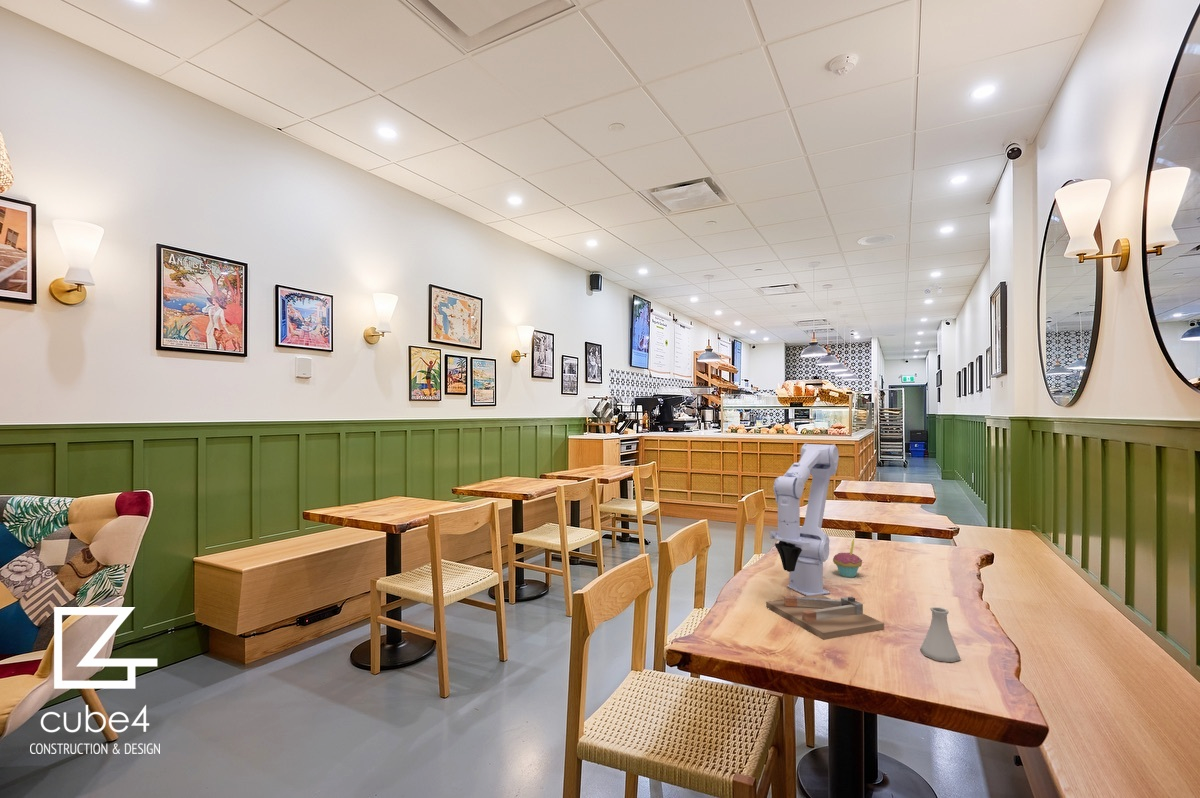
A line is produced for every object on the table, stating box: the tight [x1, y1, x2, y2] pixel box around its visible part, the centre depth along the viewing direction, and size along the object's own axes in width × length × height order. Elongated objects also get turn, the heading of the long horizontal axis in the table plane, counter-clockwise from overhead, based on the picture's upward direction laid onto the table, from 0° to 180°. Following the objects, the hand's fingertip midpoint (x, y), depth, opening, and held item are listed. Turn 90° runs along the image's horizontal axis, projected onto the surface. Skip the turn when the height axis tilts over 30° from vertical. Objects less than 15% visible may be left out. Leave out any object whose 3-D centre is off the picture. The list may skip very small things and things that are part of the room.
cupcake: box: [832, 538, 863, 578], centre depth 178 cm, size 9×8×12 cm
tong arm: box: [783, 595, 842, 608], centre depth 145 cm, size 14×2×2 cm, turn 79°
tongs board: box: [765, 594, 885, 640], centre depth 142 cm, size 22×18×5 cm
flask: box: [919, 606, 962, 663], centre depth 120 cm, size 7×7×10 cm
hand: (789, 570), depth 151 cm, fingers closed
